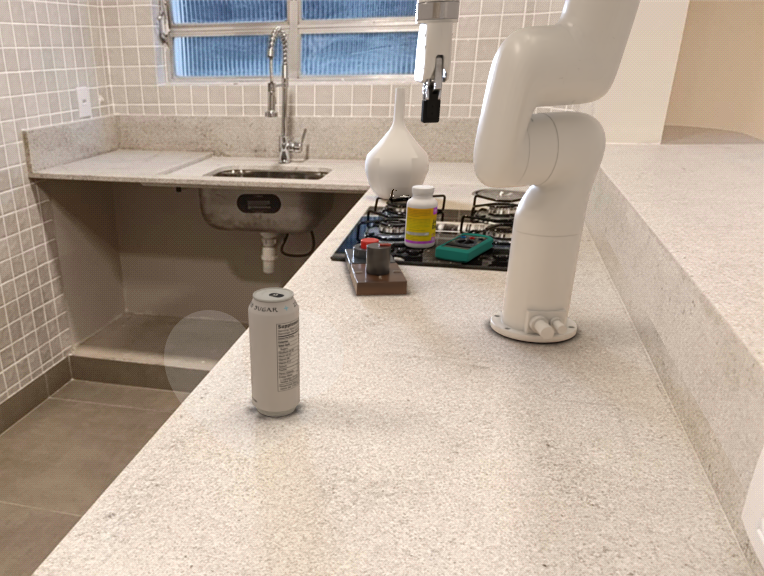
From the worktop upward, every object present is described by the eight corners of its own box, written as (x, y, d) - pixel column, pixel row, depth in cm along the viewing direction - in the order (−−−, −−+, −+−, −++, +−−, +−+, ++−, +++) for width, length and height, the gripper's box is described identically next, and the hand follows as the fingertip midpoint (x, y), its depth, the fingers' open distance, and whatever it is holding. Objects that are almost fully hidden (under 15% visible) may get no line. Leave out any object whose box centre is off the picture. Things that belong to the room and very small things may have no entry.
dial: (367, 275, 128) (368, 247, 126) (364, 268, 132) (365, 241, 130) (391, 275, 128) (392, 246, 126) (388, 268, 132) (389, 240, 130)
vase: (360, 202, 200) (364, 90, 188) (366, 190, 216) (370, 86, 204) (426, 203, 196) (434, 88, 183) (427, 191, 212) (434, 85, 199)
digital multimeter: (494, 248, 152) (495, 234, 150) (467, 264, 141) (468, 250, 140) (461, 244, 156) (463, 231, 154) (433, 259, 145) (434, 245, 144)
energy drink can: (272, 392, 92) (268, 282, 85) (309, 404, 88) (309, 291, 82) (242, 410, 87) (236, 296, 81) (280, 423, 84) (277, 305, 77)
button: (379, 250, 140) (380, 241, 139) (361, 251, 140) (361, 242, 139) (377, 245, 143) (377, 237, 142) (359, 246, 143) (360, 238, 142)
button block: (395, 272, 138) (396, 253, 136) (349, 274, 138) (349, 254, 136) (387, 257, 148) (388, 239, 146) (344, 259, 148) (345, 240, 146)
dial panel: (406, 294, 125) (407, 280, 124) (356, 295, 126) (356, 281, 125) (396, 275, 136) (397, 261, 135) (350, 276, 137) (350, 263, 136)
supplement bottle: (434, 249, 152) (439, 189, 147) (404, 249, 153) (407, 189, 148) (434, 241, 158) (438, 184, 152) (404, 241, 159) (407, 184, 154)
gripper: (409, 16, 132) (403, 119, 140) (424, 13, 119) (417, 127, 127) (449, 15, 132) (441, 118, 140) (468, 11, 118) (458, 125, 126)
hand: (429, 122), depth 133 cm, fingers closed
